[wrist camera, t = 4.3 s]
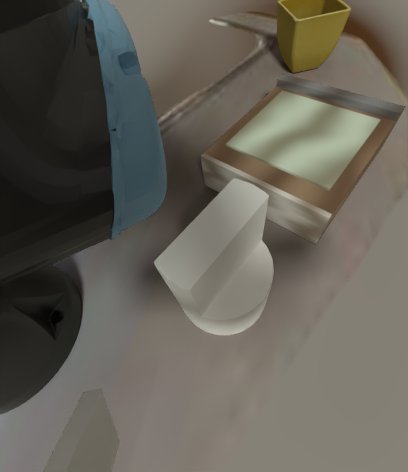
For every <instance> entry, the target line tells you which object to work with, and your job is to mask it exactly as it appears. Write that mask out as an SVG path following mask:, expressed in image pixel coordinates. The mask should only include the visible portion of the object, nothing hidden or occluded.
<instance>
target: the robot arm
mask: <svg viewBox="0 0 408 472" xmlns="http://www.w3.org/2000/svg"><path fill="white" fill-rule="evenodd" d="M166 191H167V170H166V161H165V154H164V148H163V143H162V138H161V133H160V129H159V125H158V120H157V116H156V112H155V108H154V104H153V101H152V97H151V94H150V90H149V87H148V84H147V81H146V80H145V78H143V77H142V75H141V73H140V65H139V61H138V58H137V53H136V50H135V46H134V43H133V40H132V38H131V36H130V33H129V31H128V29H127V27H126V24H125V22H124V21H123V19H122V17H121V15H120V13H119V12H118V10H117V9H116V8H115V6H114V5H113V4H111V3H110V2H109V1H108V0H82V2H80V1H79V0H0V414H3V413H5V412H8V411H10V410H12V409H14V408H16V407H18V406H20V405H21V404H23V403H25V402H26V401H27V400H29V399H30V398H32V397H33V396H34V395H35V394H37V393H38V392H39V391H40V390H41V389H42V388H43V387H44V386H45V385H46V384H47V383H48V382H49V381H50V380H51V379H52V378H53V377H54V375H55V374H56V373H57V372H58V370H59V369H60V368H61V366H62V365H63V363H64V362H65V360H66V358H67V357H68V355H69V353H70V351H71V349H72V347H73V345H74V342H75V340H76V337H77V334H78V330H79V326H80V321H81V299H80V294H79V291H78V289H77V286H76V285H75V283H74V281H73V280H72V279H71V278H70V277H69V276H68V275H67V274H66V273H65V272H63V271H62V270H61V269H59V268H58V267H56V266H55V265H53V264H52V263H54V262H57V261H59V260H61V259H63V258H66V257H68V256H70V255H72V254H75V253H77V252H79V251H81V250H84V249H86V248H88V247H90V246H93V245H95V244H97V243H99V242H102V241H104V240H106V239H108V238H110V239H114V238H115V237H116V236H118V235H119V234H120V232H121V231H122V230H124V229H126V228H128V227H130V226H132V225H134V224H136V223H138V222H140V221H142V220H144V219H146V218H148V217H150V216H152V215H153V214H154V213H155V212H156V211H157V210H158V209H159V206H160V205H161V204H162V203H163V201H164V199H165V196H166ZM119 442H120V439H119V436H118V433H117V430H116V428H115V425H114V422H113V419H112V416H111V414H110V411H109V408H108V405H107V402H106V399H105V397H104V394H103V391H102V389H97V390H92V391H88V392H83V394H82V396H81V398H80V400H79V402H78V404H77V406H76V408H75V410H74V412H73V414H72V416H71V418H70V420H69V422H68V424H67V426H66V428H65V430H64V432H63V434H62V436H61V438H60V440H59V442H58V444H57V446H56V448H55V449H54V451H53V453H52V455H51V457H50V459H49V461H48V463H47V465H46V467H45V469H44V471H43V472H111V471H112V468H113V464H114V460H115V457H116V453H117V449H118V446H119Z"/></svg>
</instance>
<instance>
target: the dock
mask: <svg viewBox="0 0 408 472" xmlns="http://www.w3.org/2000/svg"><path fill="white" fill-rule="evenodd" d="M404 109H405V106H401V105H397V104H394V103H390V102H386V101H382V100H379V99H375V98H371V97H367V96H364V95H360V94H356V93H352V92H349V91H345V90H341V89H337V88H334V87H330V86H326V85H322V84H319V83H315V82H311V81H307V80H304V79H300V78H296V77H292V76H289V75H285V74H282V75H281V76H280V77H279V78H278V79H277V86H276V87H275V88H274V89H273V90H272V91H271V92H270V93H269V94H268V95H266V96H265V97H264V98H263V99H262V100H261V101H260V102H259V103H258V104H257V105H256V106H254V107H253V108H252V109H251V110H250V111H249V112H248V113H247V114H246V115H245V116H244V117H242V118H241V119H240V120H239V121H238V122H237V123H236V124H235V125H234V126H233V127H232V128H230V129H229V130H228V131H227V132H226V133H225V134H224V135H223V136H222V137H221V138H220V139H218V140H217V141H216V142H215V143H214V144H213V145H212V146H211V147H210V148H209V149H208V150H206V151H205V152H204V153H203V154H202V155H201V163H202V169H203V176H204V182H205V185H206V186H208V187H210V188H212V189H213V190H215V191H217V192H219V193H220V192H221V191H222V190H223V189H224V188H225V187H226V186H227V185H228V184H229V182H230V181H231V180H232V179H233V178H234V179H239V180H242V181H245V182H248V183H251V184H253V185H255V186H256V187H258V188H260V189H261V190H263V191H264V192H266V193H267V194H268V195H269V199H268V206H267V212H266V218H267V219H269V220H271V221H273V222H275V223H276V224H278V225H280V226H282V227H284V228H286V229H288V230H289V231H291V232H293V233H295V234H297V235H299V236H301V237H302V238H304V239H306V240H308V241H310V242H312V243H313V244H315V245H316V243H317V242H318V240H319V239H320V237H321V236H322V234H323V233H324V231H325V230H326V228H327V227H328V226H329V224H330V223H331V221H332V220H333V218H334V217H335V215H336V214H337V212H338V211H339V209H340V208H341V206H342V205H343V204H344V202H345V201H346V199H347V198H348V196H349V195H350V193H351V192H352V190H353V189H354V187H355V186H356V184H357V183H358V182H359V180H360V179H361V177H362V176H363V174H364V173H365V171H366V170H367V168H368V167H369V165H370V164H371V162H372V161H373V160H374V158H375V157H376V155H377V154H378V152H379V151H380V149H381V148H382V146H383V144H384V143H385V141H386V139H387V138H388V136H389V134H390V132H391V131H392V129H393V127H394V126H395V124H396V122H397V120H398V119H399V117H400V115H401V114H402V112H403V110H404Z"/></svg>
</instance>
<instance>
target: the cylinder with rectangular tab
mask: <svg viewBox="0 0 408 472" xmlns="http://www.w3.org/2000/svg"><path fill="white" fill-rule="evenodd" d="M268 199H269V195H268V194H267V193H266V192H264V191H263V190H261V189H260V188H258V187H256V186H255V185H253V184H251V183H248V182H245V181H242V180H239V179H234V178H233V179H232V180H231V181H230V182H229V184H228V185H227V186H226V187H225V188H224V189H223V190H222V191H221V192H220V193H219V194H218V195H217V196H216V197H215V198H214V199H213V200H212V201H211V202H210V203H209V204H208V206H207V207H206V208H205V209H204V210H203V211H202V212H201V213H200V214H199V215H198V216H197V217H196V218H195V219H194V220H193V221H192V222H191V223H190V224H189V225H188V226H187V228H186V229H185V230H184V231H183V232H182V233H181V234H180V235H179V236H178V237H177V238H176V239H175V240H174V241H173V242H172V243H171V244H170V245H169V246H168V247H167V248H166V249H165V251H164V252H163V253H162V254H161V255H160V256H159V257H158V258H157V259H156V260H155V261H154V264H155V266H156V268H157V270H158V271H159V273H160V274H161V276H162V277H163V279H164V281H165V282H166V284H167V285H168V287H169V288H170V290H171V291H172V293H173V295H174V296H175V298H176V299H177V301H178V302H179V304H180V305H181V307H182V309H183V310H184V312H185V313H186V315H187V316H188V318H189V319H190V320H191V321H192V322H193V323H194V324H195V325H196V326H198V327H199V328H201V329H202V330H204V331H205V332H209V333H212V334H216V335H232V334H235V333H239V332H242V331H244V330H245V329H247V328H248V327H250V326H252V325H253V324H254V322H255V321H256V320H257V319H258V318H259V317H260V315H261V313H262V311H263V309H264V307H265V304H266V301H267V298H268V295H269V292H270V288H271V285H272V280H273V274H274V268H273V260H272V257H271V255H270V252H269V250H268V248H267V246H266V245H265V244H264V242H263V241H262V236H263V230H264V224H265V218H266V212H267V206H268Z"/></svg>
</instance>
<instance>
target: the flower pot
mask: <svg viewBox="0 0 408 472" xmlns="http://www.w3.org/2000/svg"><path fill="white" fill-rule="evenodd" d="M350 11H351V8H350V7H349V6H348V5H347V4H345V3H344V2H343V1H341V0H280V1H278V12H277V13H278V14H277V39H278V46H279V50H280V53H281V56H282V59H283V61H284V62H285V64H286V65H287V66H288V68H289V69H290V70H291V72H292V73H296V72H301V71H305V70H310V69H315V68H318V67H319V66H320V65H321V64H323V63H324V61H325V60H326V59H327V58H328V57H329V55H330V54H331V53H332V51H333V49H334V48H335V46H336V44H337V42H338V40H339V38H340V35H341V33H342V30H343V28H344V26H345V23H346V21H347V18H348V16H349V13H350Z"/></svg>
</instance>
